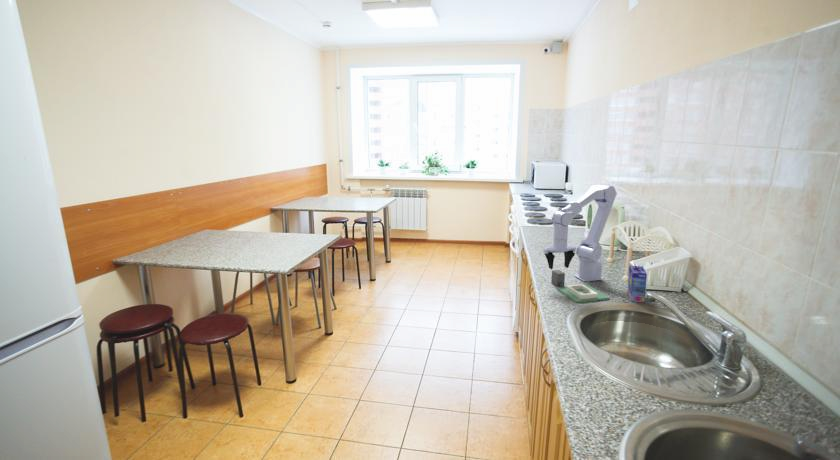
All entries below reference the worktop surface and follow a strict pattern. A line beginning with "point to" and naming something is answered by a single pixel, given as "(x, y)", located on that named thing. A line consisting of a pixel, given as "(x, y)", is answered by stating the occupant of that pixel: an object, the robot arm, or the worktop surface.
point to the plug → (558, 278)
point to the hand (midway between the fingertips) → (558, 267)
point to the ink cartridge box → (637, 283)
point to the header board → (582, 293)
